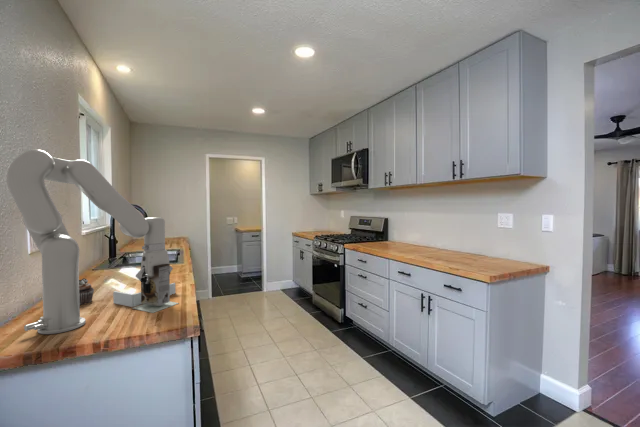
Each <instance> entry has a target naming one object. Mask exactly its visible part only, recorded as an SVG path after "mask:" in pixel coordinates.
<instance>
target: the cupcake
mask: <svg viewBox="0 0 640 427" xmlns="http://www.w3.org/2000/svg"><path fill="white" fill-rule="evenodd" d="M88 282H89V280H88V279H87V278H84V277H83V278H82V279H79V300H80V306H81V305H85V304H86V305H87V304H89V303H91V302H93V297H94V291H95V289H94V287H92V284H91V283H88Z"/></svg>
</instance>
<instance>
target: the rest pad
mask: <svg viewBox="0 0 640 427" xmlns="http://www.w3.org/2000/svg"><path fill="white" fill-rule="evenodd" d="M176 304H177V305H179V304H180V303H179V302H175V301H170V302H168V303H165V304H163V305H160V306H153V305H146V304H141V305H138V306H135V307H131V308H132V309H133V310H138V311H142V312H146V313H152V314H154V313H156V312H160V311H163V310H165V309H168V308H171V307H174V306H176Z"/></svg>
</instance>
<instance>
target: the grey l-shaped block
mask: <svg viewBox="0 0 640 427" xmlns="http://www.w3.org/2000/svg"><path fill="white" fill-rule="evenodd" d="M175 293H176V282H173V283H170V296H173V295H175ZM172 294H173V295H172ZM112 296H113V302H112V303H113V304H116V305H121V306H125V307H130V308H134V307H137V306H140V305H142V304H141V291H140V292H137V293H128V292H123V291H117V290H114V291H112Z"/></svg>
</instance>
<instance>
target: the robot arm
mask: <svg viewBox="0 0 640 427" xmlns="http://www.w3.org/2000/svg"><path fill="white" fill-rule="evenodd" d="M45 181H53V182H57V183H62V184H64V183H65V184H72V185H74V186H75V187H76V188H78V190H79V191H80V192H82V193H83V194H84V195H85V196H86V197H87V199H89V201H90V202H91V203H92V204H93V205H94V206H95V207H97V208H99V210H101V211H102V212H105V213H107V214H108V215H109V216H110V217H112V218H113V219H114V220H116V222H117V223H119V229H120V231H121V233H122V234H124V235H126V236H128V237H132V238H136V239H137V238H138V239H139V238H142V237H144V238H143V244H144V245H142V246H141V249H142V250H143V251H142V254H141V263H140V270H139V271H138V272H137V273H136V274H135V277H136V278H137V280H138V281H139V282H140V283H141V282H142V283H143V291H144V293H148V294H149V293H150V283H149V281H150V278H151V277H153V276H154V266H157V265H162V264H170V257H169V252H168V250H167V249H166V221H165V218H163V217H160V216H159V217H158V216H157V217H155V216H154V217H153V216H151V217H144V216H143V215H142V214H141V213H140V211H139V210H137V208H136V207H135V206H134V205H132V203H130V202H129V201H128V200H127V199H126V198H125V197H124V196H123V195H122V194H121V193H119V192H118V191H117V190H116V188H114V186H113V185H112V184H111V183H110V182H109V181H108V180H107V179H106V178H105V177H104V176H103V175H102V173H101V172H100V171H99V170H98V169H97V168H96V167H95V166H94V165H93V163H92V162H90V161H88V160H85V159H75V160H68V159H62V158H59V157H58V158H57V157H54V156H51V154H49V153H48V152H46V150H42V149H37V148H36V149H35V148H33V149H29V150H26V151H24V152H22V153H21V154H19V155H18V156H16V158H14V159H13V161H12V162H11V163H10V164H9V166H8V170H7V173H6V183H7V187H8V190H9V193H10V194H11V197H12V198H13V201H14V203H15V205H16V207H17V209H18V210H19V212H20V213H21V216H22V220H23V224H24V226H25V229H26V230H27V231H28V233H29V235H30V236H31V239H32V240H33V242H34V243H35V245H36V248H37V249H38V250H39V252H40V254H41V282H42V283H41V284H42V308H43V309H42V312H43V316H41V317H39V319H38V320H36V322H32V323H28V324H25V325H24V327H23V330H24V331H25V332H28V331H31V330H34V331H37V333H38V334H40V335H54V334H55V335H56V334H60V333H65V332H69V331H73V330H76V329H78V328H80V327H82V326H84V325H85V324H86V322H87V321H86V318H85V317H81V311H80V310H81V307H80V306H81V305H80V300H79V280H80V274H79V272H80V268H79V266H80V246H79V243H78V242H77V241H76V239H74V238H73V237H72V236H70V233H69V231H68V230H67V228H66V226H65V224H64V222H63V215H62V214H61V212H60V211H59V210H58V208H57V206H56V205H55V203H54V201H53V199H52V198H51V196H50V193H49V191H48V189H47V186H46V183H45ZM173 269H174V268H173V267H172V266H171V265H170V273H171V272H172V271H173ZM144 272H145V274H144ZM142 276H144V277H142ZM146 277H147V279H146Z"/></svg>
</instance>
